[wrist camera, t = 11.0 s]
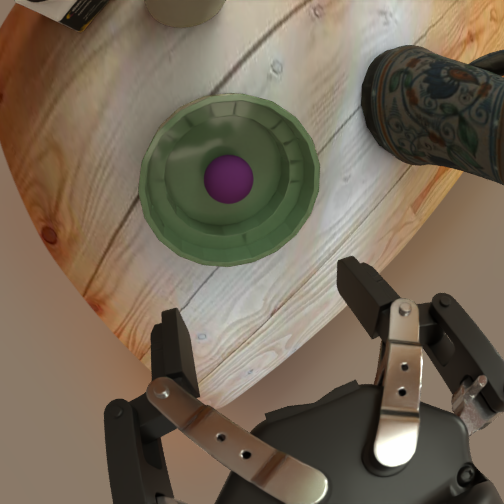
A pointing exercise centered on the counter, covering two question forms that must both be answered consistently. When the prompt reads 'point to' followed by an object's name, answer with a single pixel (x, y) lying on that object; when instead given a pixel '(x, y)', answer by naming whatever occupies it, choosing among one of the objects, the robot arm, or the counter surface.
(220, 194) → the ball
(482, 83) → the beer stein
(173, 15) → the travel mug
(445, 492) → the robot arm
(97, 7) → the medicine bottle
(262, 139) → the green bowl
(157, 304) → the counter surface
